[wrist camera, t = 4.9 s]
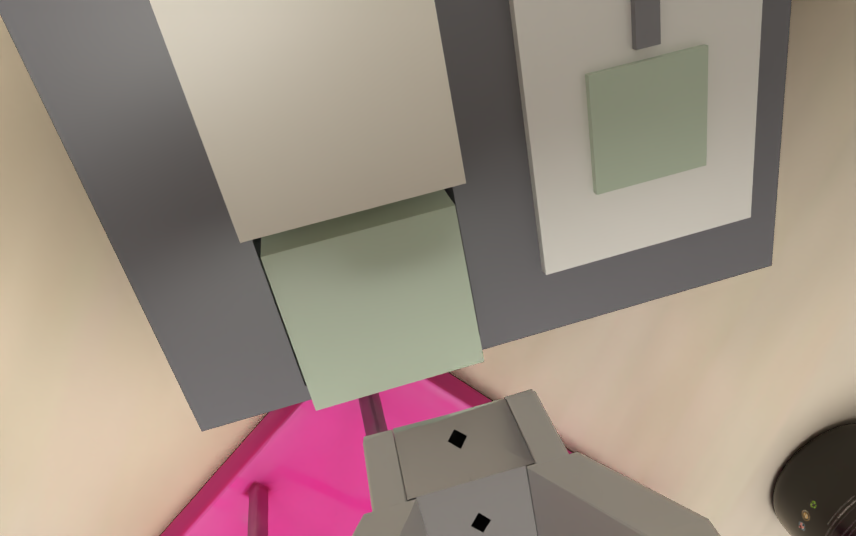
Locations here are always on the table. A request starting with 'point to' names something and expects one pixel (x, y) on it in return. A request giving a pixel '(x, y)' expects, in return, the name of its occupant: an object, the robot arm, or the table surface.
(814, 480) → the supplement bottle
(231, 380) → the keypad base
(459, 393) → the file sorter
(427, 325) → the key sage
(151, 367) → the table surface
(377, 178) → the block
